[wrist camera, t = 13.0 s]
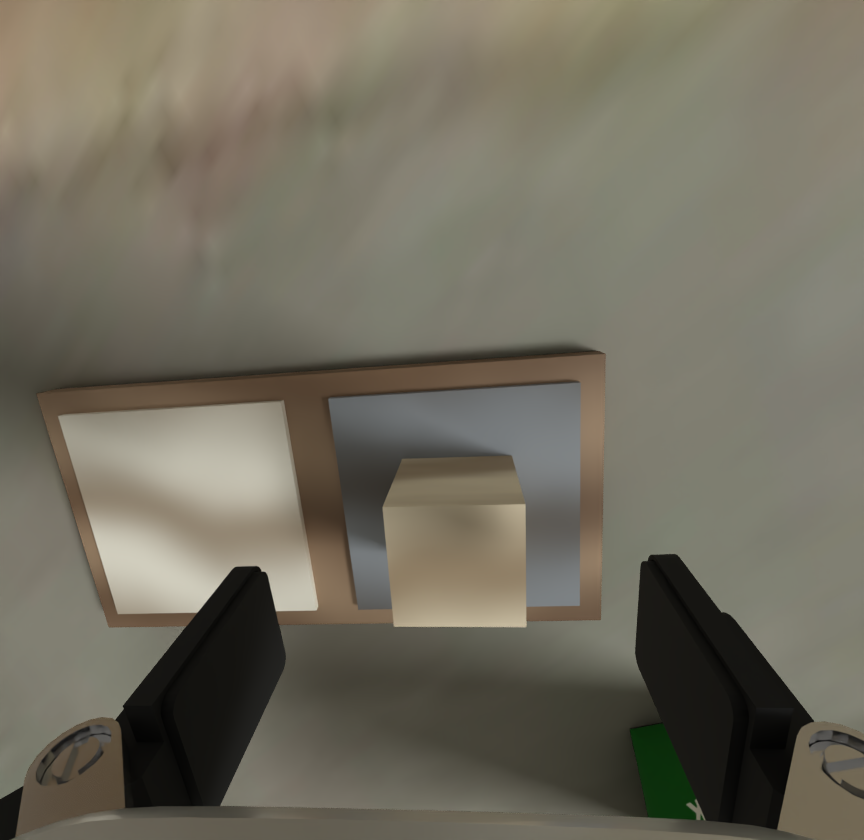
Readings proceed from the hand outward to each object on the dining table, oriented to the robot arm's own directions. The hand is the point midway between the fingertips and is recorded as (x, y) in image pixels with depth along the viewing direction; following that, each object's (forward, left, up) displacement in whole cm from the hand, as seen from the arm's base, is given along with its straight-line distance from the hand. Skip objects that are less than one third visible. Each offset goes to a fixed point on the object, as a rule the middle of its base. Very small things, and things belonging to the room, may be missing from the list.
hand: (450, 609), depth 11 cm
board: (+1, -6, -9) cm, 11 cm away
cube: (+1, 0, -8) cm, 8 cm away
